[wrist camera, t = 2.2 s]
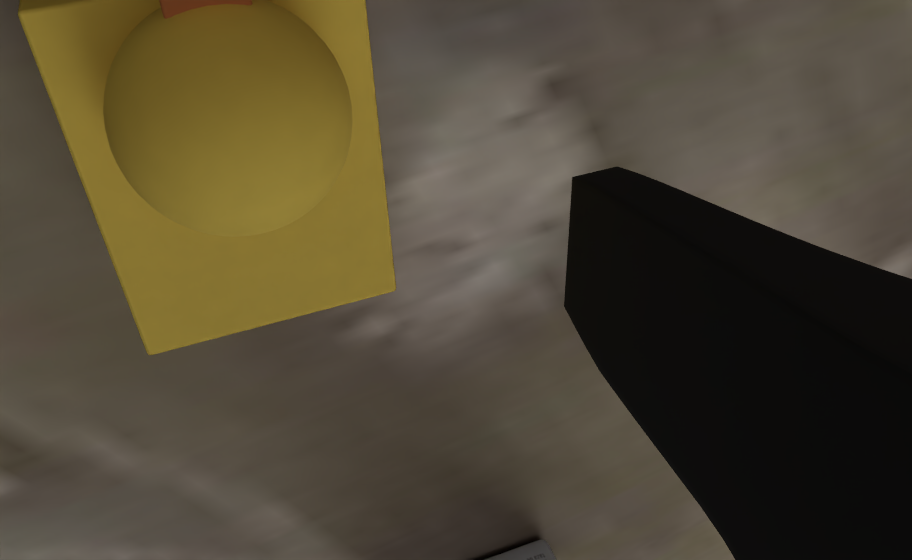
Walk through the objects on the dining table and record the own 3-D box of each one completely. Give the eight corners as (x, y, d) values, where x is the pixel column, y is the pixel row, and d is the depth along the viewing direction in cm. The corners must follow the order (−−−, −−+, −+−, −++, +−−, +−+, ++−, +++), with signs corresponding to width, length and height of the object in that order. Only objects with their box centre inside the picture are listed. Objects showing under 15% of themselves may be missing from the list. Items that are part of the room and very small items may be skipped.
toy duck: (348, 195, 16) (444, 383, 12) (135, 243, 15) (160, 469, 11) (296, -168, 12) (415, -78, 8) (1, -138, 11) (-43, -14, 7)
